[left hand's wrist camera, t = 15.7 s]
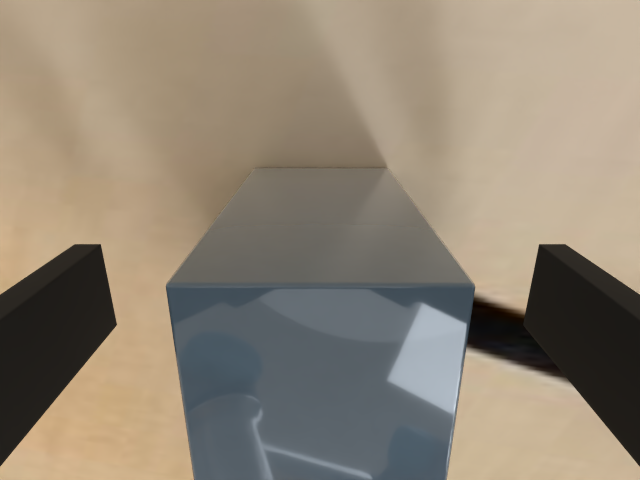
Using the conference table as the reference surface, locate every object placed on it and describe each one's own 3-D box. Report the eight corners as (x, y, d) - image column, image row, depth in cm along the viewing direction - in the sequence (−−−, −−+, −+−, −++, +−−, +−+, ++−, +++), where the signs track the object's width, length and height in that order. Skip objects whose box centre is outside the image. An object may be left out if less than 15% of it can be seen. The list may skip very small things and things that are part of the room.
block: (260, 294, 18) (197, 515, 9) (253, 167, 16) (163, 283, 7) (381, 294, 18) (442, 516, 9) (388, 167, 16) (477, 284, 7)
